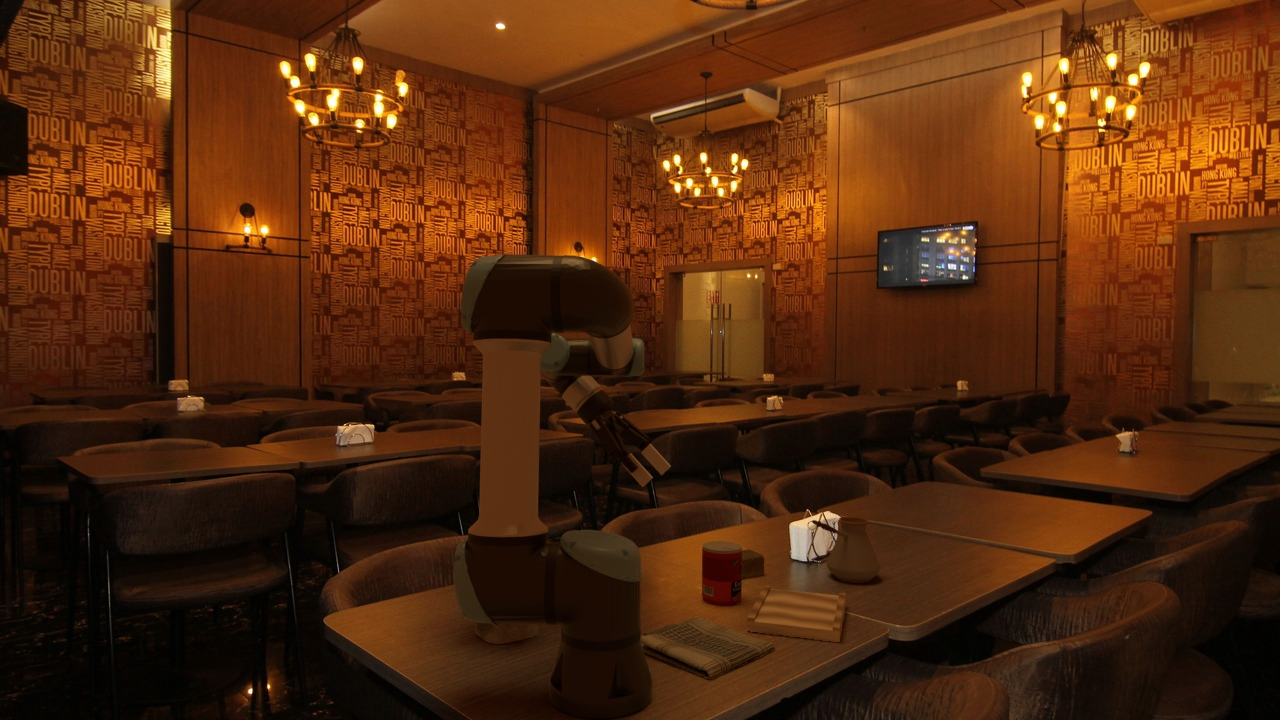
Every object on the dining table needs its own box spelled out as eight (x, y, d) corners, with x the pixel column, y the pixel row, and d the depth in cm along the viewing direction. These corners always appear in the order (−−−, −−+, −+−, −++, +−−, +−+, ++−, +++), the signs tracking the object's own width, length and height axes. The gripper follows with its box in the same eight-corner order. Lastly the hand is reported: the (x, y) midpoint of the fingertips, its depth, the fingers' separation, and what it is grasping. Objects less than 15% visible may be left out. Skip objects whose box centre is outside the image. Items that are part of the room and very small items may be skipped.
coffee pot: (845, 567, 181) (846, 503, 181) (890, 578, 173) (891, 511, 172) (788, 585, 167) (788, 515, 167) (833, 599, 159) (834, 525, 158)
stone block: (710, 576, 174) (710, 554, 174) (751, 569, 180) (751, 548, 180) (725, 583, 169) (725, 560, 169) (767, 576, 175) (767, 554, 175)
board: (839, 642, 135) (839, 627, 135) (747, 631, 140) (747, 617, 140) (845, 606, 154) (845, 593, 154) (764, 597, 159) (764, 585, 159)
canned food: (740, 607, 153) (740, 551, 153) (699, 604, 155) (699, 549, 154) (742, 595, 161) (743, 542, 160) (704, 592, 162) (704, 539, 162)
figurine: (511, 615, 148) (511, 483, 147) (547, 638, 136) (548, 495, 136) (462, 626, 142) (462, 489, 142) (496, 651, 130) (497, 501, 130)
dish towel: (778, 653, 132) (778, 634, 132) (709, 685, 119) (709, 664, 119) (695, 624, 145) (696, 607, 145) (625, 650, 133) (625, 631, 133)
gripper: (597, 407, 177) (661, 477, 173) (553, 419, 153) (625, 500, 149) (620, 384, 175) (684, 455, 171) (578, 392, 151) (652, 474, 147)
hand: (657, 476), depth 160 cm, fingers open, 13 cm apart
